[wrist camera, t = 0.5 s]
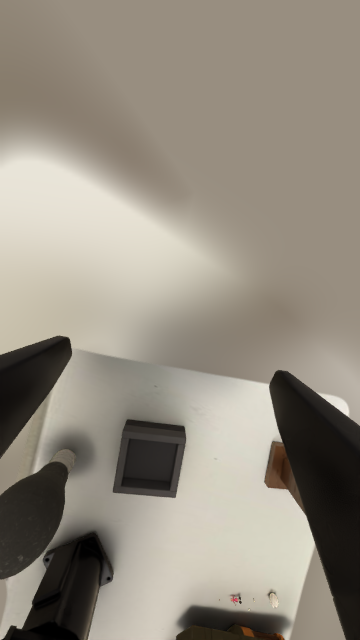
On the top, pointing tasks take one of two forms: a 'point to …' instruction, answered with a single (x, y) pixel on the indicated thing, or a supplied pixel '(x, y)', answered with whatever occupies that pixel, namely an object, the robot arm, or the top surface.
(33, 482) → the light bulb
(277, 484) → the stand
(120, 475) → the base pad
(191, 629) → the toy gun
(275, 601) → the figurine set
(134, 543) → the top surface
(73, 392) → the top surface
